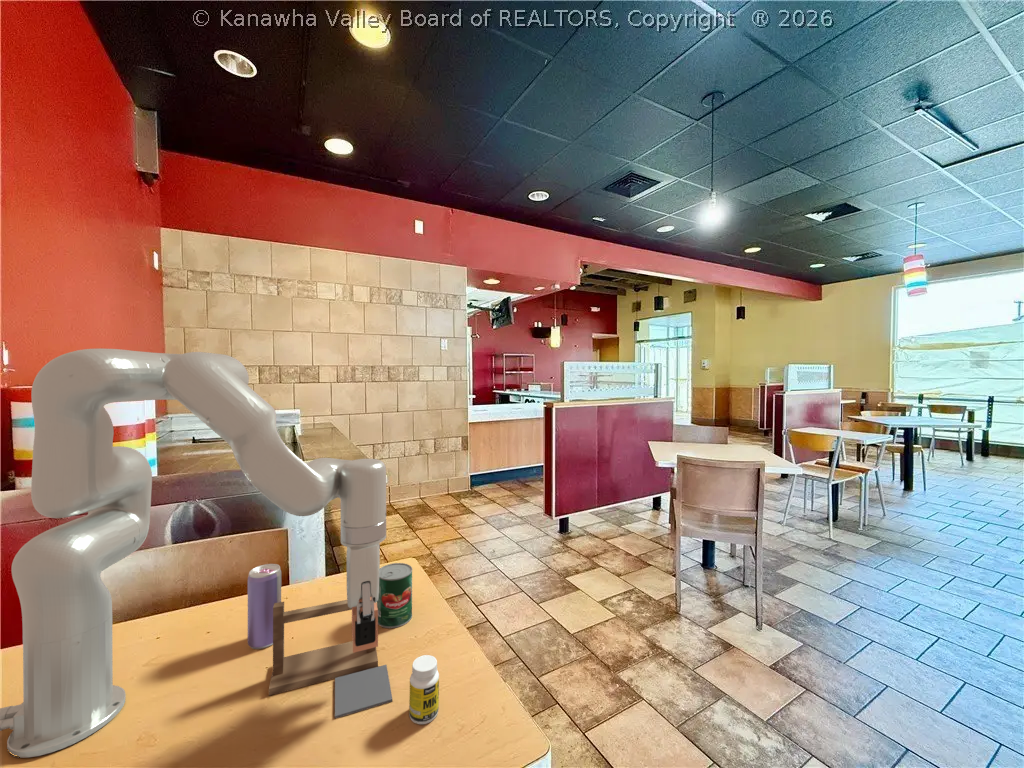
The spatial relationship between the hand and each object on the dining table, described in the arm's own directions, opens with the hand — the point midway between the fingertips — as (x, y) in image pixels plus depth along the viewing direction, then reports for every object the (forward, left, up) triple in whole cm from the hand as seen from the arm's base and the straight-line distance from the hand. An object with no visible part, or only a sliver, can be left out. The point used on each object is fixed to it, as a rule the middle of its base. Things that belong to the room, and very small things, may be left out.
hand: (364, 632), depth 71 cm
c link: (0, 0, -2) cm, 2 cm away
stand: (-6, +9, -10) cm, 15 cm away
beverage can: (-18, +22, -11) cm, 31 cm away
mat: (0, 0, -10) cm, 10 cm away
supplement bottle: (+9, -9, -11) cm, 16 cm away
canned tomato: (+8, +20, -11) cm, 24 cm away
